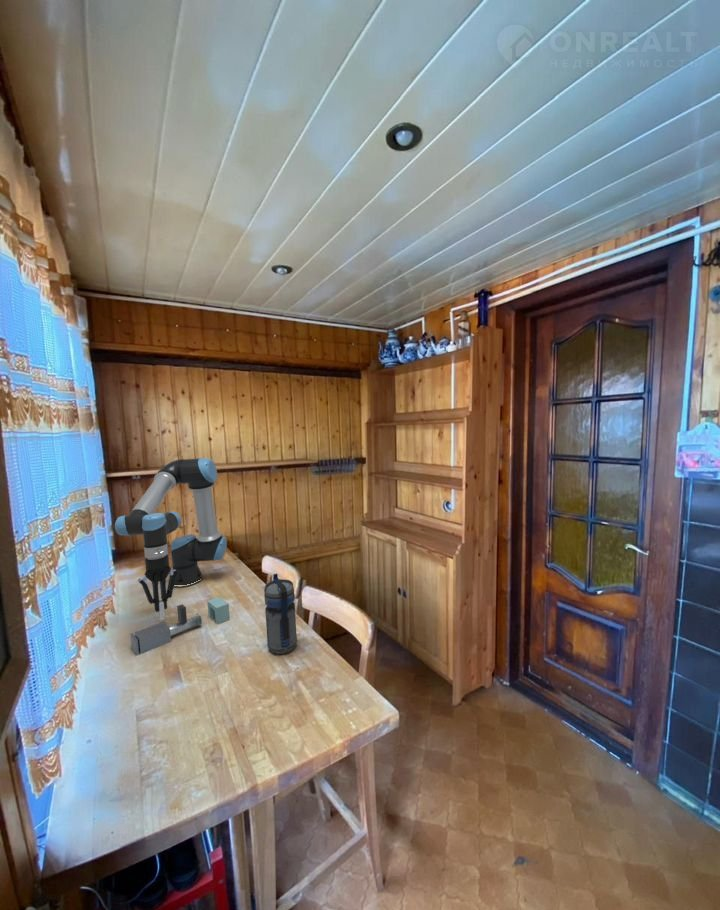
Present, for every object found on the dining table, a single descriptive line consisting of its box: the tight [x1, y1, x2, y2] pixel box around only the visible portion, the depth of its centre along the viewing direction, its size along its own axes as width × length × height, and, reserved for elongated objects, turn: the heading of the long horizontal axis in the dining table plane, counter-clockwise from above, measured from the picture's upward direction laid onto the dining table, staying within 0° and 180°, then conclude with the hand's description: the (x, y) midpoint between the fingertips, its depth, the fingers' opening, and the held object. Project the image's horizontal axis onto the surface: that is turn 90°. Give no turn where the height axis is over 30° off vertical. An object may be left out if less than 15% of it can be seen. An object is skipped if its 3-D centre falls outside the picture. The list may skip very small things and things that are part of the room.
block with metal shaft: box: [137, 604, 203, 650], centre depth 140 cm, size 22×4×10 cm, turn 134°
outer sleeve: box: [129, 621, 172, 656], centre depth 136 cm, size 11×7×5 cm, turn 134°
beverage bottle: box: [263, 573, 298, 655], centre depth 130 cm, size 10×13×25 cm
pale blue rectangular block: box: [206, 596, 231, 625], centre depth 153 cm, size 5×9×7 cm, turn 44°
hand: (161, 618), depth 138 cm, fingers closed
